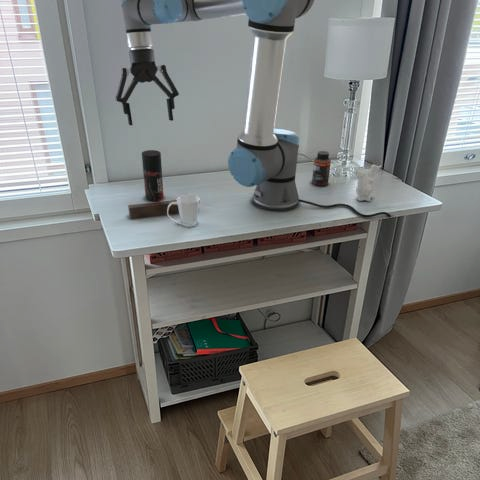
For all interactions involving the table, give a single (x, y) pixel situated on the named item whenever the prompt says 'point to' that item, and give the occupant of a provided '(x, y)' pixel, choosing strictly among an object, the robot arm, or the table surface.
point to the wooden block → (152, 209)
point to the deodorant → (152, 175)
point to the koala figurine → (366, 182)
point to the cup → (187, 209)
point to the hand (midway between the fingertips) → (151, 122)
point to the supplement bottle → (321, 169)
